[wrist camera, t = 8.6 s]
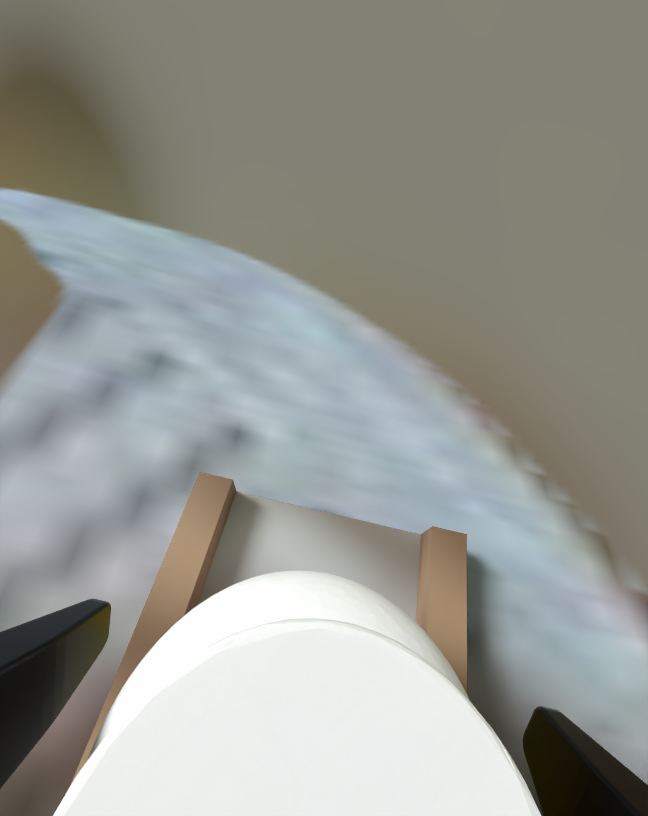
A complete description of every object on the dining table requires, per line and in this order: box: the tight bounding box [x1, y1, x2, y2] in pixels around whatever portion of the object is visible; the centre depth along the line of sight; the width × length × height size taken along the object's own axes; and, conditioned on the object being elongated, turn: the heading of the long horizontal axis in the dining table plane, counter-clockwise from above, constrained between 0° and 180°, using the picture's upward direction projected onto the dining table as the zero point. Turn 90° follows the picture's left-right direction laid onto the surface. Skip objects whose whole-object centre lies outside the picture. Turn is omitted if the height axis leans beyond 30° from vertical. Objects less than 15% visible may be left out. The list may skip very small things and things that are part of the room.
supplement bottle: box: [53, 571, 541, 816], centre depth 8 cm, size 7×7×13 cm
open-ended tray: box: [70, 472, 467, 786], centre depth 13 cm, size 16×12×2 cm
